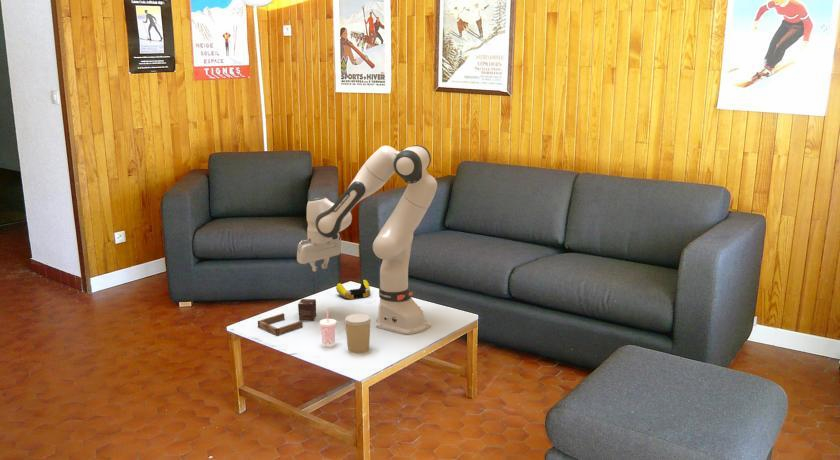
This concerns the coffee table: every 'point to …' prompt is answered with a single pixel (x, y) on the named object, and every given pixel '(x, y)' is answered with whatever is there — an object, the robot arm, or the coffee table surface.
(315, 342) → the coffee table surface
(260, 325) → the frame
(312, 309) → the box
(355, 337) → the coffee cup
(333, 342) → the beverage cup
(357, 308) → the coffee table surface
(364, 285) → the gaming controller
